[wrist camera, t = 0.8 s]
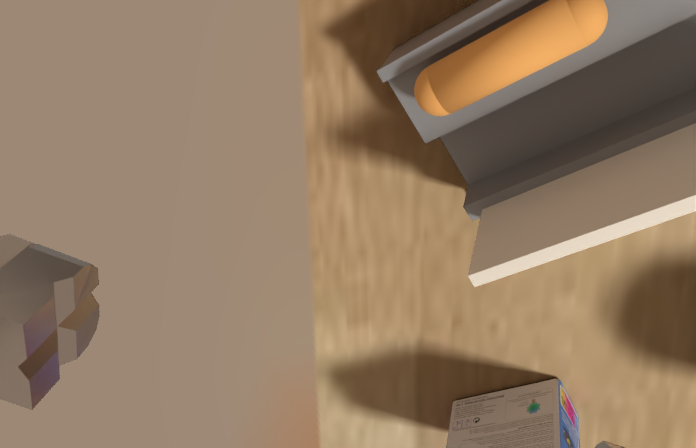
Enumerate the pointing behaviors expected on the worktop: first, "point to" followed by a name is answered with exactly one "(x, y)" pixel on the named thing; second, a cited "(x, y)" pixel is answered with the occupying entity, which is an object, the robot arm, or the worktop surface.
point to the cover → (588, 207)
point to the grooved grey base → (557, 96)
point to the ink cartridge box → (516, 419)
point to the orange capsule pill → (510, 54)
